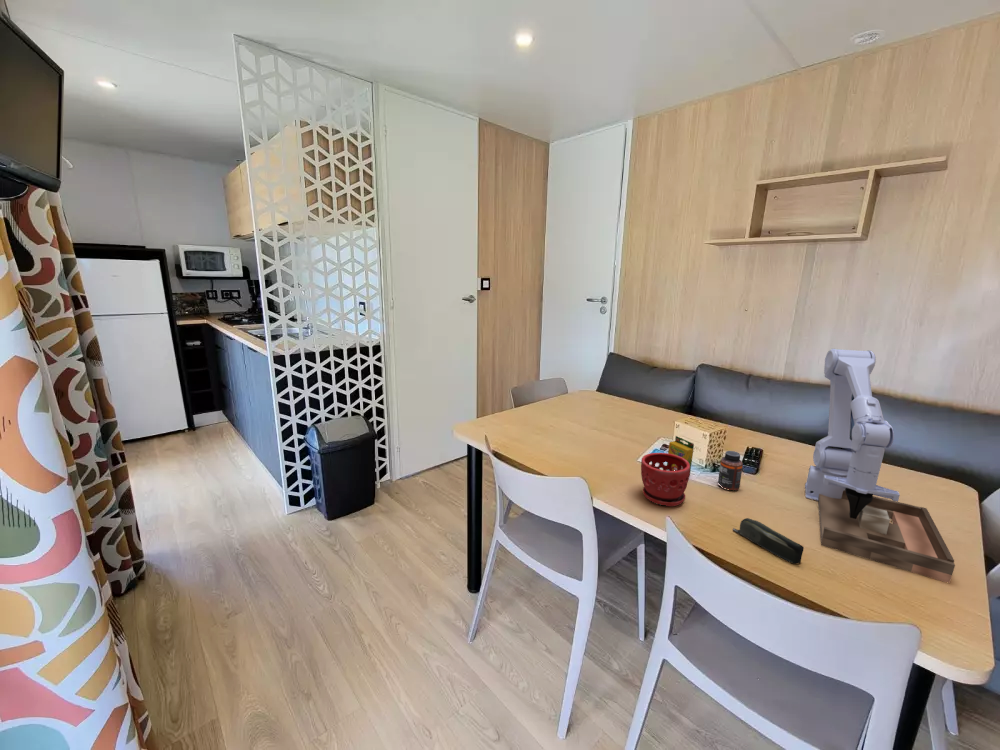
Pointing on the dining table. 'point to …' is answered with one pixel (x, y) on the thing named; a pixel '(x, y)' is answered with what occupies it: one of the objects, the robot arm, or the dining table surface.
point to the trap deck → (888, 537)
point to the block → (874, 519)
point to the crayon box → (681, 451)
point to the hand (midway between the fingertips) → (852, 516)
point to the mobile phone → (771, 540)
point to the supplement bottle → (730, 471)
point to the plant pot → (664, 478)
